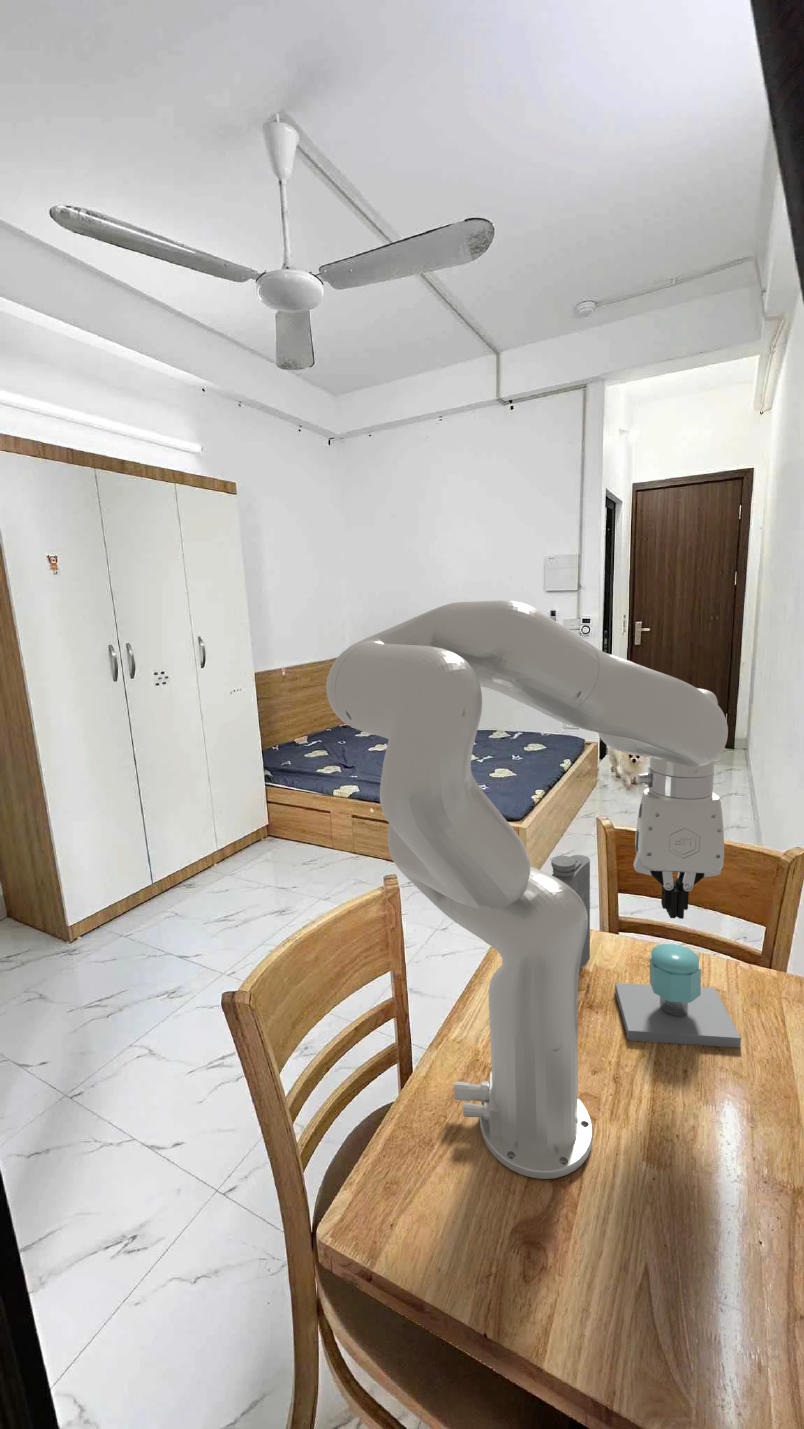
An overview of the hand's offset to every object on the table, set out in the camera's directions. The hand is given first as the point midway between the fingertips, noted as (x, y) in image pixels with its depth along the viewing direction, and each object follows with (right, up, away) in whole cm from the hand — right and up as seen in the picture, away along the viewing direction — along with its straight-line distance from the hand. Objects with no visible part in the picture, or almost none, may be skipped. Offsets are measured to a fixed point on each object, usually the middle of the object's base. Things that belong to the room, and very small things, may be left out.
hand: (674, 913), depth 80 cm
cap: (+1, -11, +3) cm, 12 cm away
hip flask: (-11, -15, +14) cm, 23 cm away
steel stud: (+1, -15, +3) cm, 15 cm away
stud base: (+2, -16, +4) cm, 17 cm away
